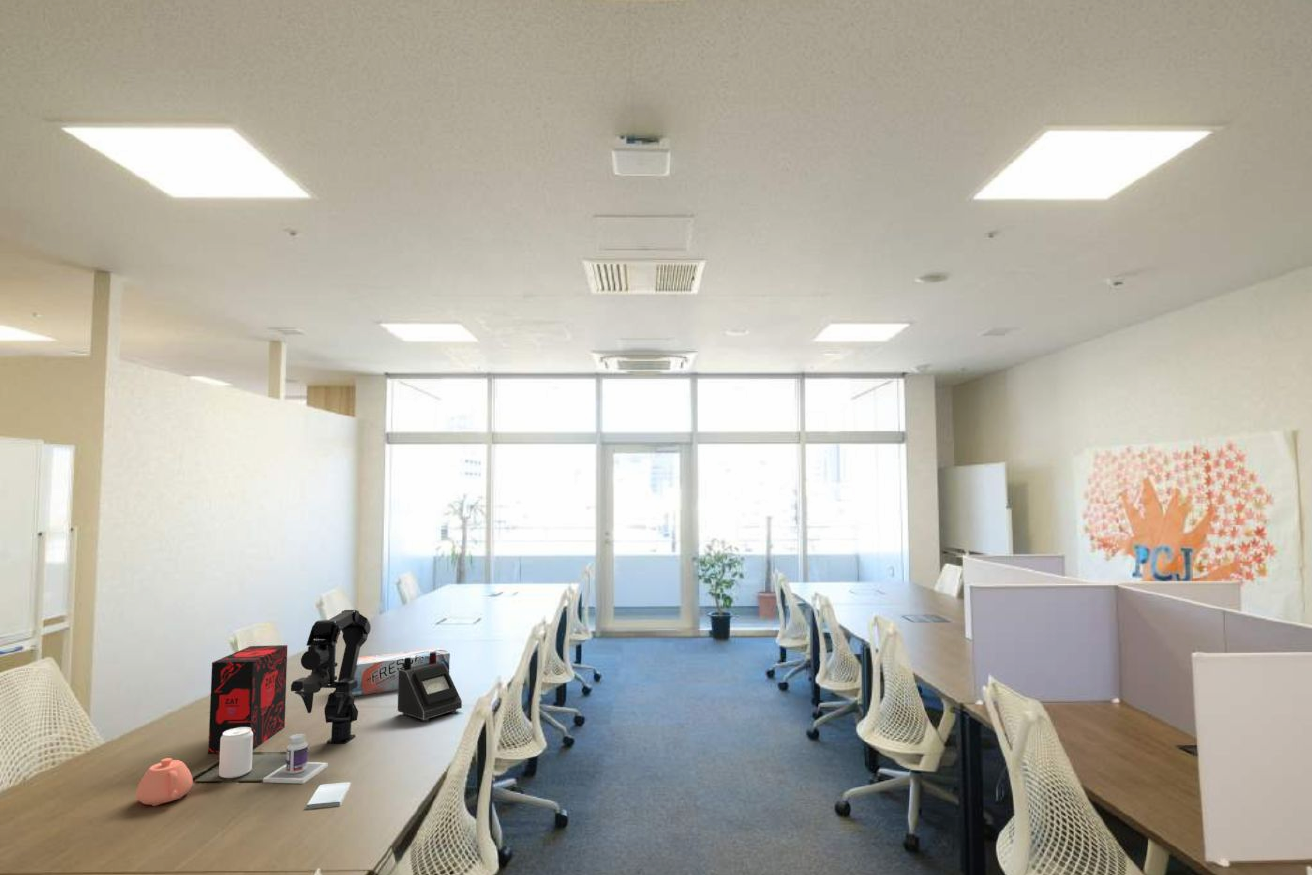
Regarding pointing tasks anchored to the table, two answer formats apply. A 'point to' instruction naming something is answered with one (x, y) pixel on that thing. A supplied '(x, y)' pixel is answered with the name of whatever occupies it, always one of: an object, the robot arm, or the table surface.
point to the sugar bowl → (164, 782)
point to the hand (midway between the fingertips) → (323, 713)
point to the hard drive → (328, 795)
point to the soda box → (389, 669)
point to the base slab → (301, 777)
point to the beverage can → (236, 752)
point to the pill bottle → (296, 754)
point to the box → (248, 694)
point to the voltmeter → (426, 690)
